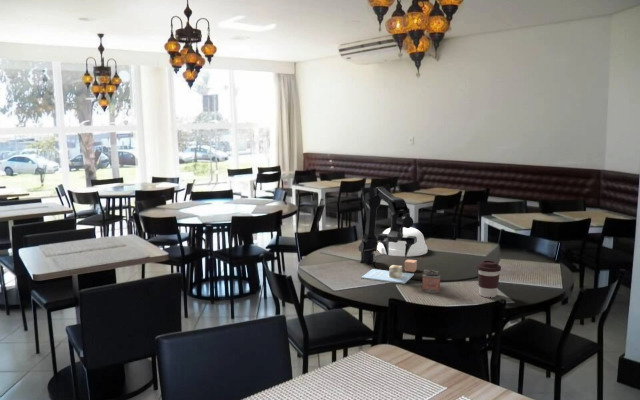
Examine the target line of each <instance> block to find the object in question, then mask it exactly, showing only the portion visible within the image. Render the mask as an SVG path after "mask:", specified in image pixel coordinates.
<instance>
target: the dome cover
mask: <svg viewBox="0 0 640 400" xmlns="http://www.w3.org/2000/svg"><path fill="white" fill-rule="evenodd" d="M390 228H391V227H389V228H386V229H385V230H384V231H382V233H384V234H388V233H389V232H390ZM408 236H416V237H417V242H416V243H415V244H413V245H411V247H410V249H409V251H408V254H407V256H406V257H417V256H422V255H426V254H427V253H428V245H427V244H426V242H425V237H424V234H423V233H422V232H421V231H420V230H419V229H417V228H416V227H413V226H412V227H410V228H405V227H404V228H403V237H406V238H407V237H408ZM405 244H406V241H398V242H396V243H394V242H389V253H388V255H387V253H386V251H385V248H384V245H383V244H382V243H380V242H378V245H377V250H378V251H379V252H378V251H377V250H376V251H377V252H378V253H380V255H386V256H392V257H405V249H406V246H405Z"/></svg>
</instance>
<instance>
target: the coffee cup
mask: <svg viewBox="0 0 640 400" xmlns="http://www.w3.org/2000/svg"><path fill="white" fill-rule="evenodd" d="M476 269H477V270H478V273H477V277H478V278H477V279H478V280H477V281H478V291H479V292H478V294H479V295H480V296H481V297H484V298H490V297H491V298H495V297H497V295H498V294H497V293H498V287H499V283H500V281H499V280H500V272H501V270H502V266H501V264H498V262H497V261H495V260H487V259H486V260H481V261H480V263H477V265H476Z"/></svg>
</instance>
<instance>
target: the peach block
mask: <svg viewBox="0 0 640 400" xmlns="http://www.w3.org/2000/svg"><path fill="white" fill-rule="evenodd" d="M417 263H418V260H416V259H406V260H405V261H404V272H408V273H409V272H411V273H415V272H416V271H417V268H418V264H417Z"/></svg>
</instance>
